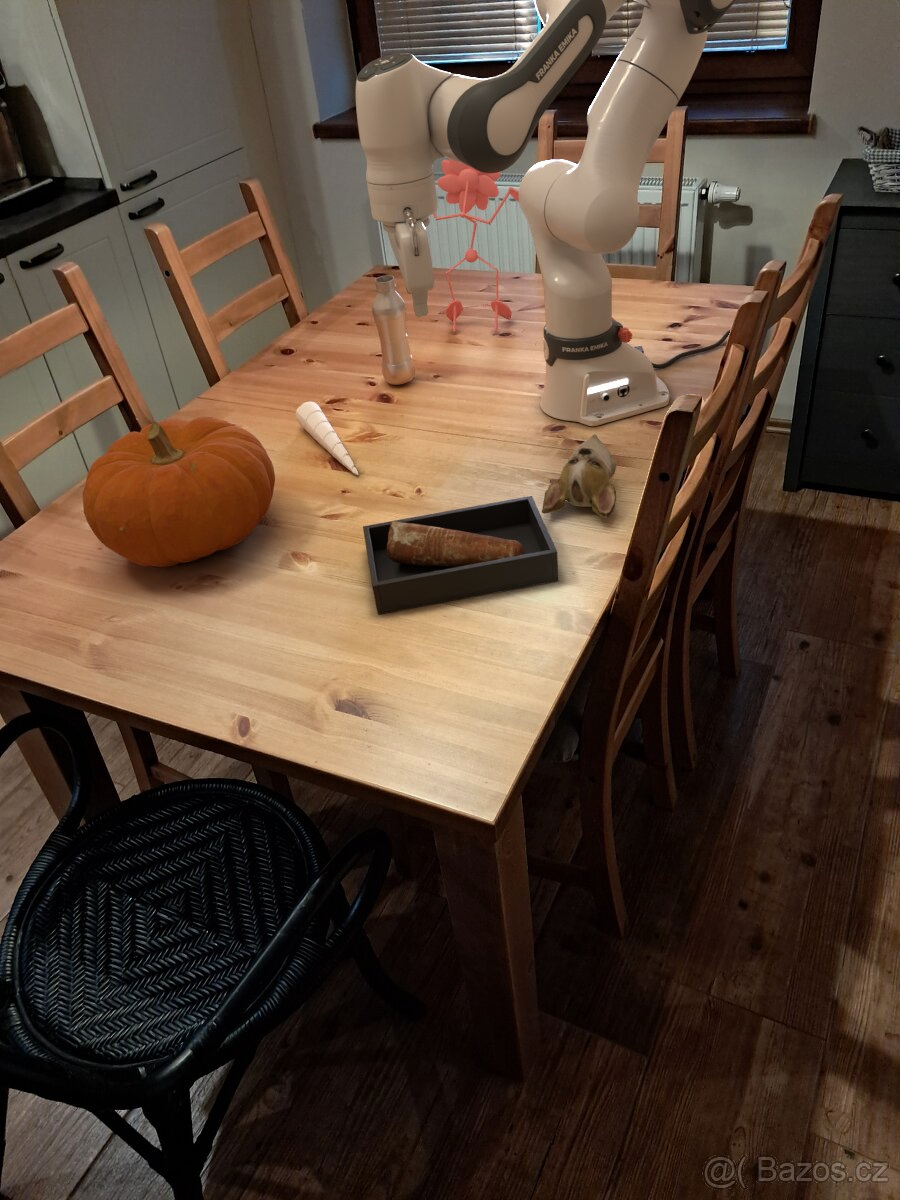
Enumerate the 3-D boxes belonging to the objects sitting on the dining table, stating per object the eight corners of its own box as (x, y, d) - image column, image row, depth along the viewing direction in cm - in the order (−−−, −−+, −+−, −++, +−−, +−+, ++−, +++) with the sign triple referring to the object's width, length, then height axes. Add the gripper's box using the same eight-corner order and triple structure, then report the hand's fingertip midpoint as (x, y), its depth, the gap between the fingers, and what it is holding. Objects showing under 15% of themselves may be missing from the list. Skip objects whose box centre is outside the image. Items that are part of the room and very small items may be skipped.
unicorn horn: (337, 484, 148) (331, 458, 145) (297, 428, 166) (292, 404, 163) (364, 476, 150) (359, 450, 147) (322, 421, 167) (317, 397, 164)
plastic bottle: (421, 374, 178) (407, 272, 166) (409, 389, 174) (394, 286, 161) (391, 373, 181) (375, 272, 168) (378, 388, 176) (361, 285, 163)
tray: (533, 523, 133) (531, 495, 130) (558, 581, 122) (557, 552, 119) (368, 553, 132) (362, 526, 129) (377, 614, 120) (372, 586, 117)
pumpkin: (203, 613, 125) (158, 488, 113) (66, 570, 137) (12, 454, 125) (322, 506, 144) (295, 389, 131) (192, 477, 156) (156, 368, 143)
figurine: (535, 333, 188) (525, 150, 166) (416, 334, 195) (392, 158, 173) (547, 305, 199) (540, 130, 178) (435, 307, 206) (414, 138, 185)
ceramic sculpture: (630, 426, 134) (609, 484, 124) (630, 475, 140) (611, 534, 130) (560, 422, 138) (534, 478, 128) (563, 470, 144) (539, 527, 134)
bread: (399, 546, 131) (393, 513, 128) (528, 555, 126) (526, 521, 122) (385, 572, 126) (379, 539, 123) (519, 582, 121) (516, 548, 118)
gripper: (438, 216, 111) (450, 325, 120) (417, 178, 127) (429, 276, 136) (387, 224, 111) (403, 333, 119) (372, 185, 127) (387, 283, 136)
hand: (417, 302), depth 128 cm, fingers open, 8 cm apart
